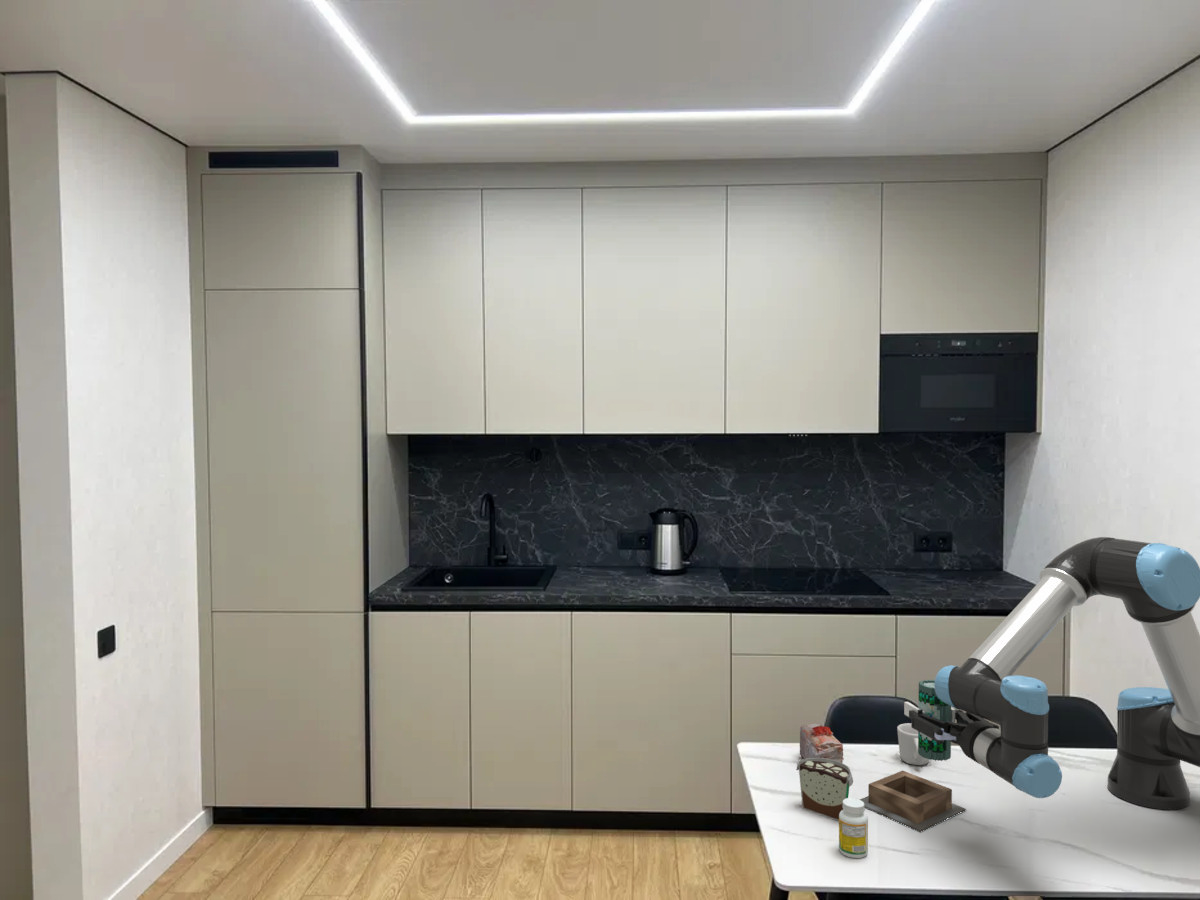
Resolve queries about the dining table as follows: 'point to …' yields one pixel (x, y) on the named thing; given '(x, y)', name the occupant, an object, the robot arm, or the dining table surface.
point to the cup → (909, 745)
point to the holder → (911, 800)
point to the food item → (819, 743)
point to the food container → (824, 785)
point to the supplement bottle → (853, 829)
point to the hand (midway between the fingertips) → (921, 706)
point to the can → (938, 711)
